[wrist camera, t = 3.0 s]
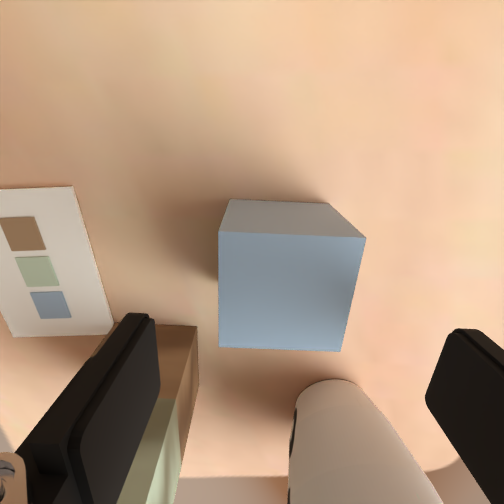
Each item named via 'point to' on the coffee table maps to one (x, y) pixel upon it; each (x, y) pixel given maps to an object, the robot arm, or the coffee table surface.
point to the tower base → (176, 369)
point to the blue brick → (286, 275)
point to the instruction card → (48, 266)
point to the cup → (350, 452)
